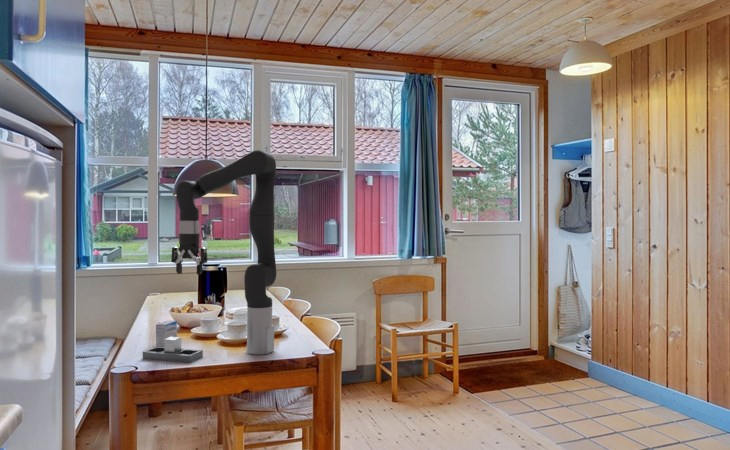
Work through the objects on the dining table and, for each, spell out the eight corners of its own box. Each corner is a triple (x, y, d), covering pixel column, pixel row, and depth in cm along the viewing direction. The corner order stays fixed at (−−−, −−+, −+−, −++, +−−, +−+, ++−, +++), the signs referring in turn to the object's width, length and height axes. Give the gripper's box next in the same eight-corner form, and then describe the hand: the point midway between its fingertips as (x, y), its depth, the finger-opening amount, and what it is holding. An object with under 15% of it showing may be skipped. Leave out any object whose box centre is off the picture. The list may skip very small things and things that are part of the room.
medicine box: (165, 347, 198) (165, 324, 198) (155, 346, 199) (155, 324, 199) (177, 342, 206) (177, 320, 206) (167, 341, 207) (167, 320, 207)
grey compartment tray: (202, 356, 185) (202, 350, 185) (189, 362, 177) (189, 356, 177) (156, 352, 190) (156, 346, 190) (142, 358, 182) (142, 351, 182)
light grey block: (181, 356, 185) (181, 337, 185) (174, 359, 181) (174, 340, 181) (171, 355, 186) (171, 336, 186) (164, 358, 182) (164, 339, 182)
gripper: (210, 232, 201) (210, 273, 202) (179, 231, 205) (178, 272, 205) (200, 233, 194) (200, 275, 194) (167, 232, 197) (167, 274, 198)
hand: (189, 274), depth 200 cm, fingers open, 8 cm apart
